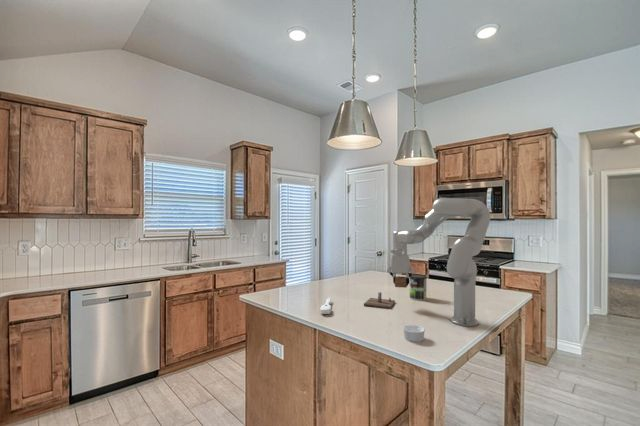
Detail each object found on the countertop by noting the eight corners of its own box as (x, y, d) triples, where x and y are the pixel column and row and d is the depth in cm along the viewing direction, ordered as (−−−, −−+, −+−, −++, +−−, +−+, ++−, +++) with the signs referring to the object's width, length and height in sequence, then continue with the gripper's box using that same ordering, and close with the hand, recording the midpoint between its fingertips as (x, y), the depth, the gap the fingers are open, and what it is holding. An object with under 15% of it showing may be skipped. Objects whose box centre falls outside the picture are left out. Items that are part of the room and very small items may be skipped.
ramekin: (415, 344, 129) (415, 333, 129) (398, 337, 136) (398, 327, 136) (429, 339, 134) (429, 329, 134) (411, 333, 141) (411, 323, 141)
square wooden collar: (406, 287, 176) (405, 278, 176) (395, 287, 179) (394, 278, 179) (408, 284, 185) (408, 275, 186) (398, 283, 188) (397, 275, 188)
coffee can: (417, 301, 194) (417, 278, 194) (406, 297, 203) (406, 275, 203) (430, 299, 198) (430, 276, 198) (418, 295, 208) (418, 273, 208)
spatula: (324, 302, 193) (324, 297, 193) (334, 302, 193) (334, 297, 193) (319, 315, 165) (319, 309, 166) (330, 315, 165) (330, 309, 165)
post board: (390, 309, 177) (390, 297, 178) (363, 306, 183) (363, 294, 183) (395, 302, 191) (395, 291, 191) (370, 299, 197) (370, 288, 197)
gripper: (383, 252, 181) (384, 285, 180) (415, 253, 174) (416, 286, 173) (386, 251, 188) (387, 282, 187) (416, 252, 181) (418, 284, 180)
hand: (401, 284), depth 180 cm, fingers closed on square wooden collar, 6 cm apart
